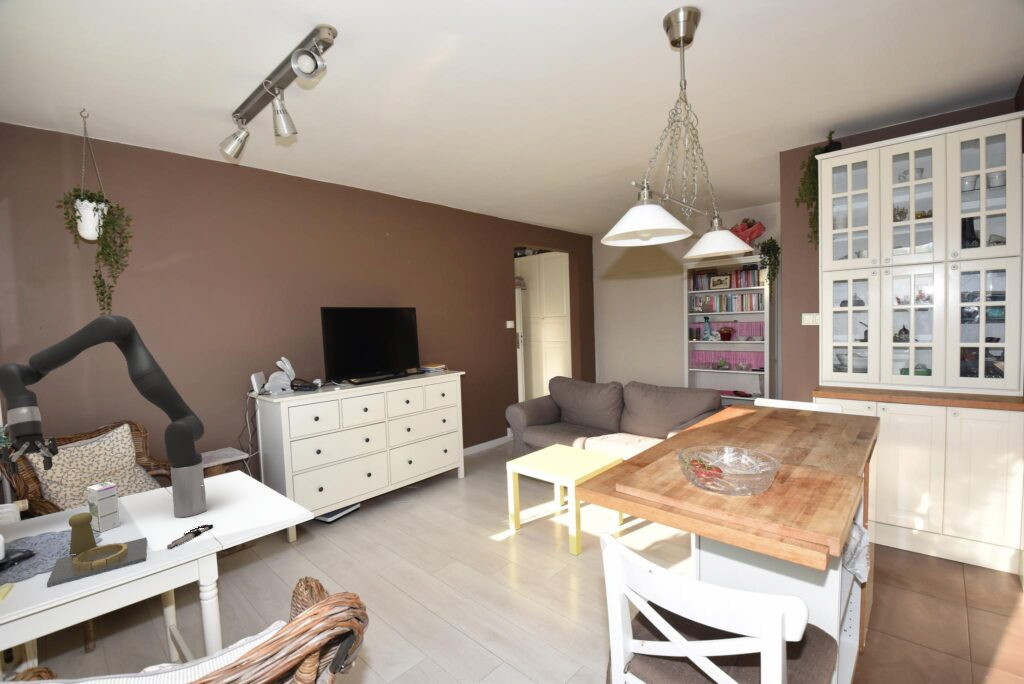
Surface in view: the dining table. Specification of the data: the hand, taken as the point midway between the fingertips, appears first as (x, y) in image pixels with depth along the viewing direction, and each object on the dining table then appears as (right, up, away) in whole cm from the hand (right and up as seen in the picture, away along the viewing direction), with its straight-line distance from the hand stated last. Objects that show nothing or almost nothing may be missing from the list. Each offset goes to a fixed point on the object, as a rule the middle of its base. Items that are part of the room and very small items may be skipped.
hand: (31, 472), depth 151 cm
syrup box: (+19, -20, +5) cm, 28 cm away
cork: (+25, -21, -10) cm, 34 cm away
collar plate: (+37, -21, -17) cm, 46 cm away
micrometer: (+51, -20, -3) cm, 55 cm away
